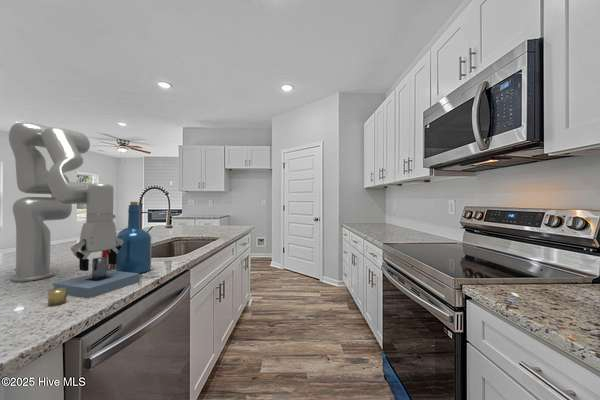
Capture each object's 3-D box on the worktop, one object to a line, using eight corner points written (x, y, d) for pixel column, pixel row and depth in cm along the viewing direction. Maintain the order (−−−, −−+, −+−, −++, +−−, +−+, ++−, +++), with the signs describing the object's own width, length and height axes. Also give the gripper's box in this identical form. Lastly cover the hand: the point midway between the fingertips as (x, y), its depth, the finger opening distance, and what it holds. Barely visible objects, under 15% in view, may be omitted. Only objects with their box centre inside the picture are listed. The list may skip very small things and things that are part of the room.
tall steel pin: (89, 288, 92) (89, 259, 92) (101, 284, 96) (101, 256, 96) (97, 289, 91) (97, 259, 91) (109, 285, 95) (109, 257, 95)
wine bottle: (158, 269, 118) (158, 201, 118) (129, 277, 105) (130, 201, 105) (136, 266, 123) (136, 201, 123) (106, 274, 110) (107, 201, 110)
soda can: (110, 271, 115) (111, 243, 115) (97, 270, 116) (97, 242, 116) (124, 267, 122) (124, 240, 122) (111, 266, 123) (112, 240, 123)
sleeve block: (54, 292, 88) (54, 283, 88) (108, 277, 105) (108, 270, 105) (88, 298, 83) (88, 288, 83) (139, 281, 100) (139, 273, 100)
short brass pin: (44, 305, 77) (44, 291, 77) (60, 300, 81) (60, 287, 81) (53, 307, 76) (53, 293, 76) (69, 302, 79) (69, 288, 80)
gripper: (115, 216, 103) (114, 261, 103) (64, 219, 87) (63, 272, 87) (130, 217, 101) (129, 262, 101) (80, 220, 85) (79, 274, 84)
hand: (98, 267), depth 94 cm, fingers open, 9 cm apart
